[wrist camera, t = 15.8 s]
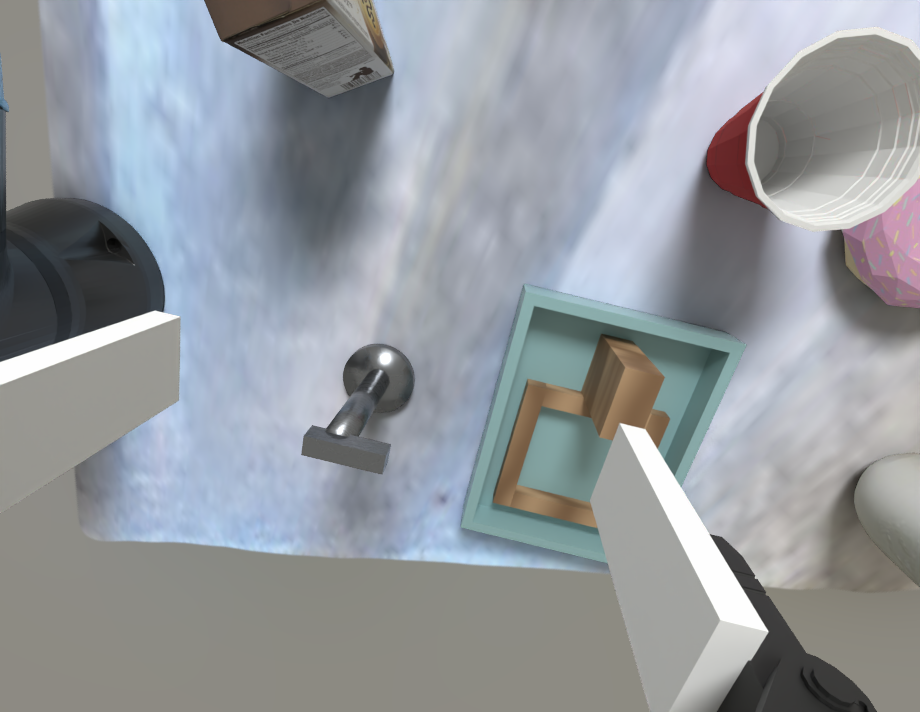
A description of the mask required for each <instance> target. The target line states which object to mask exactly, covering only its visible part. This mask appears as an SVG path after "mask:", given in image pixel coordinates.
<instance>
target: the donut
mask: <svg viewBox="0 0 920 712" xmlns="http://www.w3.org/2000/svg"><path fill="white" fill-rule="evenodd" d="M841 231H842V233H843V236H844V244H845V260H846V266H847V267H848V268H849V269H850V270H851V272H852V273H853V274H854V275H855V276H856V277H857V278H858V279H859V280H860V281H862V282H863V283H864V284H865V285H867V286H868V287H869V288H871V289H872V290H873V291H874V292H875V293H876V294H877V295H878V296H879V297H880V298H881V299H882V300H883V301H884V302H885V303H886V304H887V305H892V306H902V307H913V308H920V176H919V178H918V179H917V181H916V183H915V184H914V185H913V186H912V187H911V188H910V189H909V190H908V191H906V192H905V193H904V194H903V195H902V196H901V197H900V198H899V199H898V200H897V201H896V202H895V203H894V204H893V205H892V206H891V207H889V208H888V209H887V210H886V211H885V212H883V213H881V214H879V215H877V216H875V217H873V218H871V219H869V220H867V221H864V222H862V223H860V224H858V225H856V226H854V227H852V228H850V229H842V230H841Z"/></svg>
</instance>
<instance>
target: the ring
mask: <svg viewBox="0 0 920 712" xmlns="http://www.w3.org/2000/svg"><path fill="white" fill-rule="evenodd" d="M664 378H665V377H664V375H663V374H662V373H661V372H660V371H659V370H658V369H657V368H656V366H655V365H654V364H653V363H652V362H651V361H650V360H649V359H648V357H647V356H646V355H645V354H644V353H643V352H642V351H641V350H640V348H639V347H638V346H637V345H636V344H635V343H634V342H633V341H631V340H627V339H622V338H618V337H614V336H610V335H606V334H602V333H601V335H600V338H599V341H598V344H597V347H596V350H595V352H594V355H593V358H592V361H591V364H590V367H589V370H588V373H587V376H586V379H585V382H584V384H583V387H582V390H581V391H577V390H573V389H569V388H565V387H560V386H556V385H552V384H548V383H544V382H540V381H536V380H531V379H527V382H526V385H525V388H524V392H523V395H522V399H521V402H520V405H519V409H518V412H517V415H516V419H515V422H514V425H513V429H512V432H511V436H510V439H509V442H508V446H507V449H506V452H505V456H504V459H503V462H502V466H501V469H500V472H499V476H498V479H497V483H496V486H495V489H494V493H493V503H496V504H500V505H505V506H509V507H513V508H517V509H521V510H525V511H529V512H533V513H537V514H541V515H546V516H550V517H554V518H558V519H562V520H566V521H570V522H574V523H578V524H582V525H586V526H591V527H595V528H598V527H597V524H596V520H595V517H594V513H593V510H592V506H591V503H590V502H586V501H582V500H578V499H574V498H570V497H566V496H562V495H557V494H553V493H549V492H545V491H541V490H537V489H533V488H529V487H525V486H521V485H517V483H518V479H519V476H520V473H521V470H522V467H523V464H524V460H525V457H526V454H527V451H528V448H529V445H530V441H531V438H532V435H533V432H534V429H535V426H536V422H537V419H538V416H539V413H540V410H541V407H542V406H544V407H548V408H552V409H556V410H560V411H564V412H568V413H572V414H577V415H581V416H585V417H589V418H592V420H593V423H594V425H595V428H596V430H597V433H598V435H599V437H600V438H604V439H608V440H612V441H613V439H614V436H615V434H616V431H617V429H618V426H619V423H621V424H626V425H630V426H634V427H638V428H642V429H646V431H647V433H648V434H649V436H650V438H651V439H652V441H653V443H654V444H655V446H656V448H657V449H658V447H659V445H660V442H661V440H662V438H663V435H664V433H665V431H666V428H667V426H668V424H669V421H670V418H669V416H668V415H667V414H666V412H664V411H660V410H655V409H652V408H653V405H654V403H655V400H656V398H657V396H658V393H659V391H660V388H661V386H662V383H663V381H664Z"/></svg>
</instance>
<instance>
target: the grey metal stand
mask: <svg viewBox="0 0 920 712" xmlns="http://www.w3.org/2000/svg"><path fill="white" fill-rule="evenodd" d="M343 382H344V386H345V389H346V391H347V393H348V395H349V396H350V398H349V399H348V400H347V402H346V403H345V404H344V406H343V407H342V408H341V410H340V411H339V412H338V414H337V415H336V416H335V418H334V419H333V420H332V422H331V423H330V424H329V426H328V427H327V428H326V429H325V428H321V427H317V426H313V425H312V427H311V428H310V429H309V430H308V431H307V433H306V434H305V435H304V438H303V446H302V454H301V455H304V456H308V457H312V458H316V459H320V460H324V461H329V462H333V463H337V464H341V465H345V466H349V467H353V468H357V469H361V470H365V471H370V472H374V473H378V474H383V472H384V469H385V467H386V465H387V462H388V457H389V452H390V447H391V444H387V443H383V442H379V441H375V440H371V439H367V438H362V437H359V435H360V433H361V432H362V430H363V428H364V427H365V425H366V423H367V422H368V420H369V418H370V417H371V415H372V413H373V412H378V413H385V412H390V411H393V410H396V409H398V408H399V407H401V406H402V405H403V404H404V403H405V402H406V401H407V400H408V398H409V396H410V394H411V392H412V390H413V387H414V371H413V368H412V366H411V364H410V362H409V360H408V359H407V358H406V357H405V356H404V355H403V354H402V353H401V352H400V351H399V350H397V349H395V348H393V347H391V346H388V345H384V344H371V345H367V346H364V347H362V348H360V349H359V350H357V351H356V352H355V353H354V354H353V355H352V356H351V357H350V358H349V360H348V361H347V363H346V365H345V368H344V372H343Z"/></svg>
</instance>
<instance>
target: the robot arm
mask: <svg viewBox="0 0 920 712" xmlns="http://www.w3.org/2000/svg"><path fill="white" fill-rule="evenodd" d="M2 80H3V79H2V66H1V56H0V514H1V513H2V512H4V511H6V510H7V509H9V508H10V507H12V506H13V505H15V504H17V503H18V502H20V501H21V500H23V499H25V498H26V497H28V496H29V495H31V494H32V493H34V492H35V491H37V490H39V489H40V488H42V487H43V486H45V485H47V484H48V483H50V482H51V481H52V480H54V479H56V478H57V477H59V476H61V475H62V474H64V473H65V472H67V471H69V470H70V469H72V468H73V467H75V466H76V465H78V464H80V463H81V462H83V461H84V460H86V459H87V458H89V457H91V456H92V455H94V454H95V453H97V452H98V451H100V450H102V449H103V448H105V447H106V446H108V445H109V444H111V443H113V442H114V441H116V440H117V439H119V438H121V437H122V436H124V435H125V434H127V433H128V432H130V431H132V430H133V429H135V428H136V427H138V426H139V425H141V424H143V423H144V422H146V421H147V420H149V419H150V418H152V417H154V416H155V415H157V414H158V413H160V412H161V411H163V410H165V409H166V408H168V407H169V406H171V405H172V404H174V403H176V402H177V401H179V370H180V316H176V315H171V314H167V313H163V312H162V310H163V303H164V289H163V282H162V277H161V274H160V270H159V267H158V265H157V262H156V260H155V258H154V256H153V254H152V252H151V250H150V249H149V247H148V246H147V244H146V243H145V241H144V240H143V239H142V237H141V236H140V235H139V234H138V233H137V231H136V230H135V229H134V228H133V227H132V226H131V225H130V224H129V223H127V222H126V221H125V220H124V219H123V218H121V217H120V216H119V215H117V214H116V213H114V212H112V211H111V210H109V209H107V208H105V207H103V206H101V205H99V204H96V203H93V202H90V201H87V200H82V199H75V198H51V199H40V200H35V201H31V202H28V203H25V204H23V205H21V206H19V207H16V208H14V209H11V210H9V211H6V119H5V118H6V112H9V106H8V104H7V102H6V101H5V100H4V93H3V81H2ZM590 503H591V506H592V510H593V513H594V517H595V520H596V524H597V527H598V531H599V534H600V538H601V541H602V545H603V548H604V552H605V555H606V559H607V563H608V566H609V570H610V573H611V577H612V580H613V584H614V587H615V591H616V594H617V598H618V601H619V604H620V608H621V612H622V615H623V619H624V622H625V625H626V629H627V633H628V636H629V640H630V643H631V647H632V650H633V654H634V657H635V661H636V664H637V668H638V671H639V675H640V678H641V682H642V685H643V689H644V692H645V696H646V699H647V702H648V706H649V710H650V712H877V711H876V710H875V708H874V706H873V705H872V703H871V702H870V700H869V699H868V697H867V696H866V695H865V694H864V693H863V692H862V691H861V690H860V689H859V688H858V687H857V686H856V685H855V683H853V681H851V680H850V679H849V678H848V677H846V676H845V675H844V674H843V673H841V672H840V671H839V670H837V669H836V668H835V667H833V666H832V665H830V664H828V663H826V662H825V661H823V660H821V659H819V658H818V657H816V656H813V655H810V654H807V653H806V652H805V650H804V649H803V647H802V646H801V645H800V643H799V641H798V640H797V639H796V637H795V635H794V634H793V632H792V631H791V629H790V628H789V626H788V625H787V623H786V622H785V620H784V619H783V617H782V616H781V614H780V613H779V611H778V610H777V608H776V607H775V605H774V604H773V602H772V601H771V599H770V598H769V596H766V595H765V593H766V592H765V590H764V588H763V587H762V585H761V584H760V582H759V581H758V579H755V575H754V573H753V572H752V570H751V569H750V567H749V566H748V564H747V563H746V561H745V560H744V558H743V557H742V555H740V554H739V553H738V552H737V551H736V550H735V549H734V548H733V547H732V546H731V545H730V544H729V543H728V542H727V541H726V540H725V539H723V538H722V537H719V536H715V535H711V534H709V533H708V531H707V530H706V528H705V526H704V525H703V523H702V521H701V520H700V518H699V517H698V515H697V513H696V512H695V510H694V508H693V507H692V505H691V503H690V502H689V500H688V498H687V497H686V495H685V494H684V492H683V490H682V489H681V487H680V485H679V484H678V482H677V480H676V479H675V477H674V475H673V474H672V472H671V471H670V469H669V467H668V466H667V464H666V462H665V461H664V459H663V457H662V456H661V454H660V452H659V451H658V449H657V448H656V446H655V444H654V443H653V441H652V439H651V438H650V436H649V434H648V433H647V431H646V429H642V428H638V427H634V426H630V425H626V424H621V423H619V426H618V429H617V431H616V434H615V436H614V439H613V442H612V444H611V447H610V449H609V452H608V455H607V457H606V460H605V462H604V465H603V468H602V470H601V473H600V475H599V478H598V481H597V483H596V486H595V488H594V491H593V494H592V496H591V499H590Z"/></svg>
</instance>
